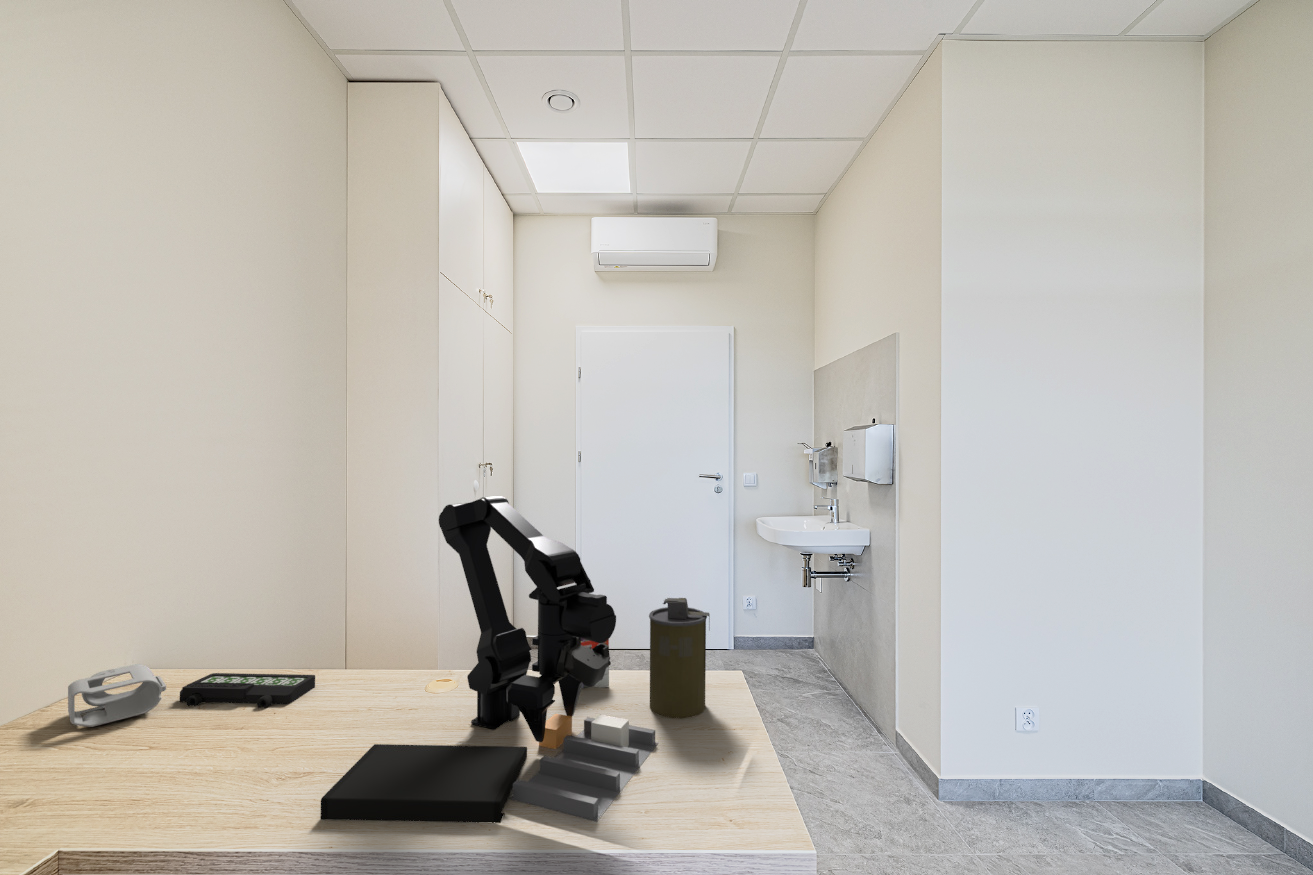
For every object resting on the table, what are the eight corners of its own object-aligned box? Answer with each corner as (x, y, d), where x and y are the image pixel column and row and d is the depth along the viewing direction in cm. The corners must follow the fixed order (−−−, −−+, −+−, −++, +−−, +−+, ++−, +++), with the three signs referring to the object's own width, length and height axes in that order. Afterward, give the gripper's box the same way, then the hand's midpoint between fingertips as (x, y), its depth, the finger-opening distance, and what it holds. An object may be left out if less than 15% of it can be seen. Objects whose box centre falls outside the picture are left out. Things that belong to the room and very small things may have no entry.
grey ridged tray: (509, 806, 80) (509, 783, 80) (585, 734, 100) (585, 716, 100) (596, 829, 75) (596, 805, 75) (658, 749, 95) (658, 730, 95)
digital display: (170, 690, 110) (212, 670, 120) (169, 708, 110) (212, 687, 120) (283, 692, 109) (317, 672, 119) (283, 710, 109) (316, 689, 119)
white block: (591, 748, 93) (591, 722, 93) (599, 739, 96) (600, 714, 96) (620, 754, 91) (620, 728, 91) (628, 745, 94) (628, 719, 94)
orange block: (555, 756, 93) (555, 730, 93) (539, 752, 94) (539, 726, 94) (571, 741, 98) (572, 716, 98) (555, 737, 99) (555, 713, 99)
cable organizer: (66, 676, 107) (71, 696, 99) (157, 657, 116) (168, 674, 108) (66, 714, 107) (71, 736, 99) (157, 692, 116) (168, 711, 108)
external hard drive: (500, 825, 77) (500, 802, 77) (320, 822, 77) (320, 798, 77) (526, 765, 91) (527, 745, 91) (374, 763, 91) (374, 743, 91)
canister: (644, 722, 104) (645, 606, 104) (652, 697, 114) (652, 591, 115) (708, 726, 103) (708, 608, 103) (709, 700, 113) (710, 593, 113)
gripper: (571, 655, 85) (570, 767, 84) (626, 619, 102) (625, 712, 102) (504, 645, 89) (503, 752, 88) (568, 612, 106) (567, 701, 106)
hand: (555, 728), depth 96 cm, fingers open, 9 cm apart
